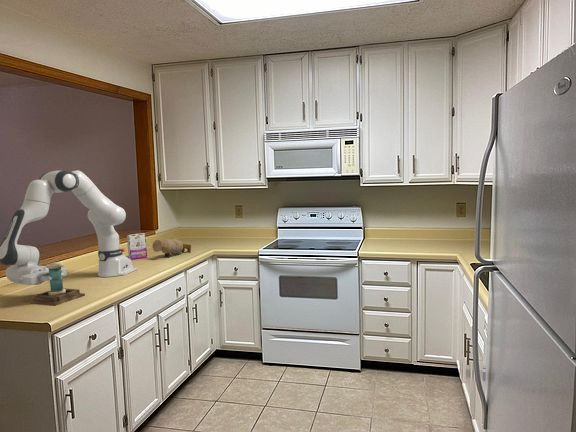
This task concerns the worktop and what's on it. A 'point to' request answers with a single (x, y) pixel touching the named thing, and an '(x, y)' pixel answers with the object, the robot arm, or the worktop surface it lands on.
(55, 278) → the bobbin
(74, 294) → the pocket board
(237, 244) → the worktop surface
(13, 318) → the worktop surface
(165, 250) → the brown stuffed animal
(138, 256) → the candy bar box
